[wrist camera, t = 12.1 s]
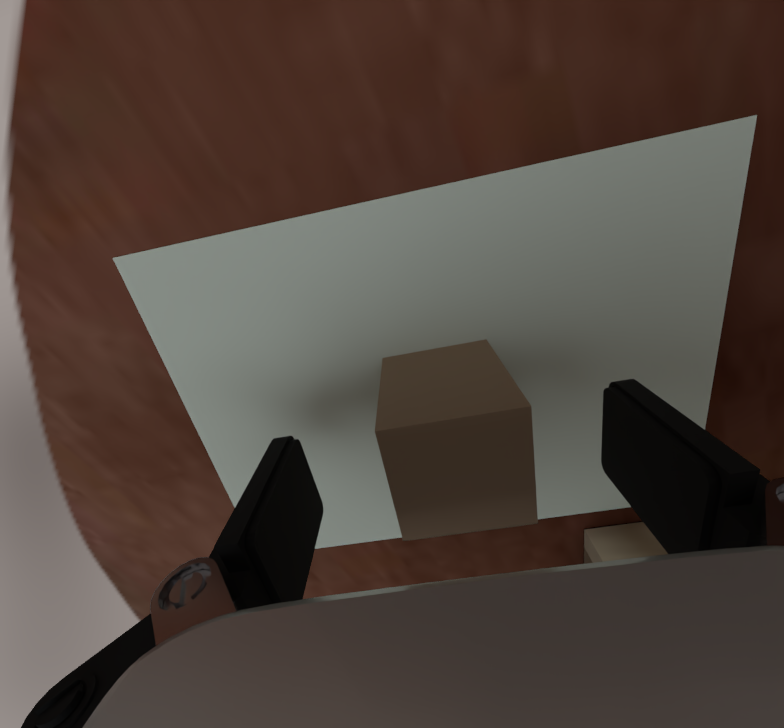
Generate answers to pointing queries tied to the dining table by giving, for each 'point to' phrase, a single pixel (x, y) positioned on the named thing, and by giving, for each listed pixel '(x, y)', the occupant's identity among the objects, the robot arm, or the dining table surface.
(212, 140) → the dining table surface
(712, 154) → the lid
